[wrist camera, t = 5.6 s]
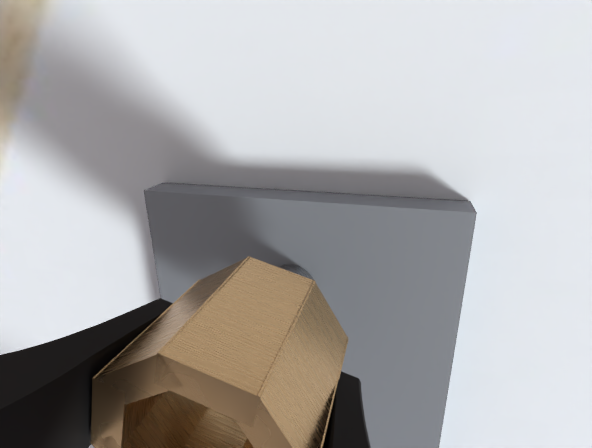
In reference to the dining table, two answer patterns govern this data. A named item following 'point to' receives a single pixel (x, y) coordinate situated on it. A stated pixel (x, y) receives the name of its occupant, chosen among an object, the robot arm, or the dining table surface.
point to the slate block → (342, 280)
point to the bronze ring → (226, 367)
